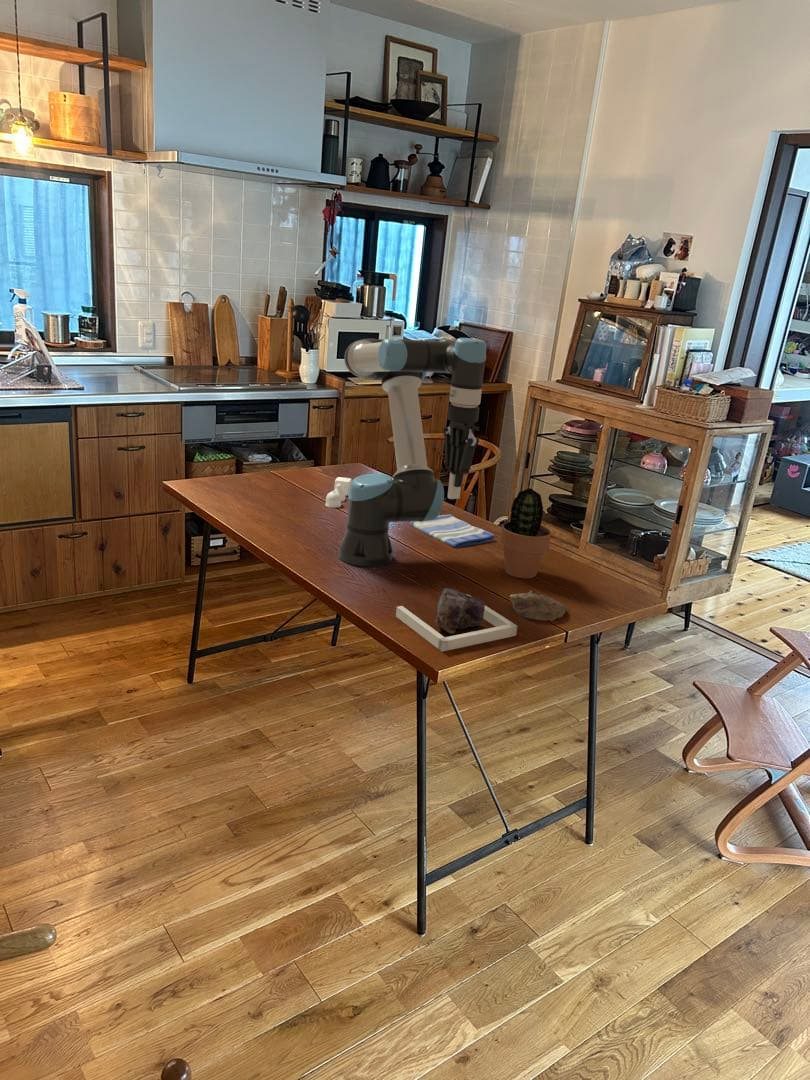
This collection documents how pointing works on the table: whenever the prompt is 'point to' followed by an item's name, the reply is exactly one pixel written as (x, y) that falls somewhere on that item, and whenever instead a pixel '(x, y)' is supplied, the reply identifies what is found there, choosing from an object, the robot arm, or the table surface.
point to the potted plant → (525, 536)
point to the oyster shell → (537, 606)
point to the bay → (462, 640)
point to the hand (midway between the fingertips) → (453, 497)
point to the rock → (458, 611)
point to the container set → (338, 492)
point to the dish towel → (453, 531)
